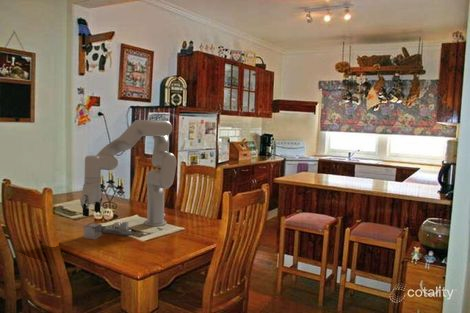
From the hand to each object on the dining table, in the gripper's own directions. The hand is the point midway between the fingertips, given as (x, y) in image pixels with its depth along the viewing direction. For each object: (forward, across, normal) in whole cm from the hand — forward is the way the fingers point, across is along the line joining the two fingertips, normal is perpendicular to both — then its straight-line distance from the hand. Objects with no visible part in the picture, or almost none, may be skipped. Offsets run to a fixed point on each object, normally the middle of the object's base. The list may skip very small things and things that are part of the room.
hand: (91, 213), depth 190 cm
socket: (+12, -1, 0) cm, 12 cm away
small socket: (+12, -16, +6) cm, 20 cm away
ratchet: (+12, -10, +5) cm, 16 cm away
